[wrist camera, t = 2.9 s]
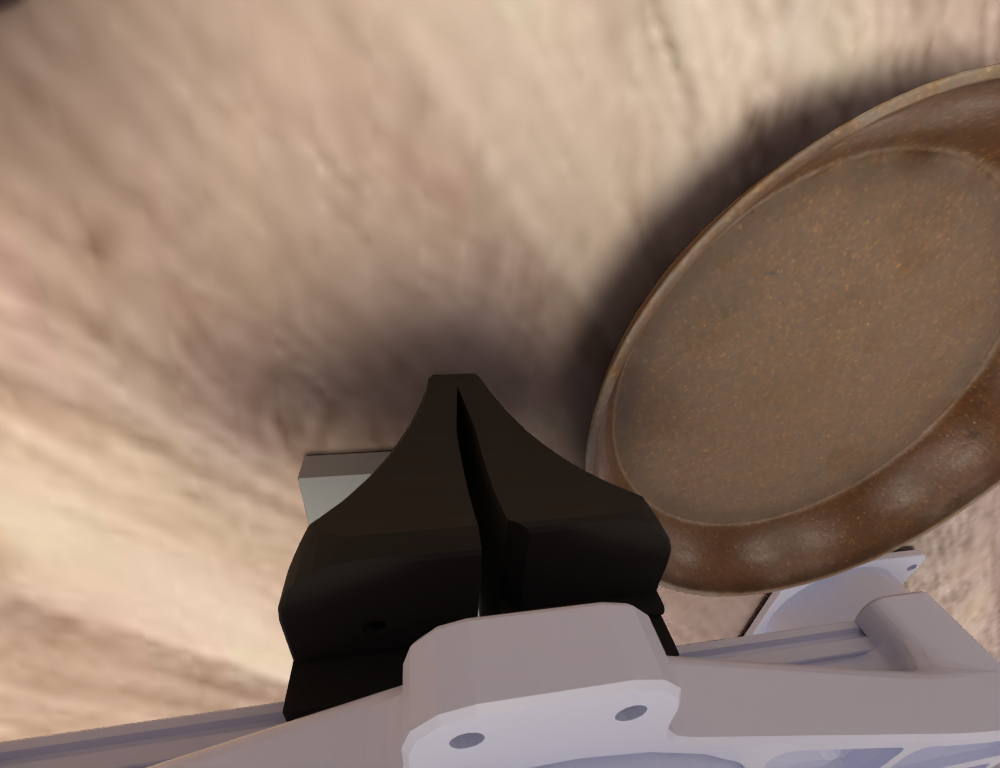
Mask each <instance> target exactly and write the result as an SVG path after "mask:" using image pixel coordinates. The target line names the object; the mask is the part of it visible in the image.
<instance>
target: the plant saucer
mask: <svg viewBox="0 0 1000 768" xmlns="http://www.w3.org/2000/svg"><path fill="white" fill-rule="evenodd" d="M585 471H586V472H588V473H590V474H592V475H594V476H596V477H598V478H600V479H602V480H604V481H607V482H609V483H611V484H614V485H616V486H618V487H621V488H623V489H626V490H628V491H631V492H633V493H636V494H638V495H640V496H643V497H644V499H645V500H646V502H647V503H648V505H649V506H650V507H651V509H652V510H653V512H654V513H655V515H656V516H657V518H658V520H659V521H660V523H661V525H662V527H663V528H664V530H665V532H666V533H667V535H668V537H669V539H670V544H671V554H670V558H669V561H668V564H667V566H666V569H665V571H664V573H663V576H662V578H661V580H660V583H659V586H663V587H665V588H667V589H671V590H674V591H677V592H683V593H688V594H694V595H701V596H745V595H753V594H762V593H769V592H775V591H781V590H785V589H789V588H793V587H797V586H801V585H805V584H809V583H812V582H816V581H819V580H823V579H826V578H829V577H832V576H835V575H838V574H841V573H843V572H846V571H848V570H851V569H853V568H856V567H858V566H861V565H864V564H866V563H869V562H871V561H874V560H876V559H878V558H880V557H881V556H883V555H885V554H888V553H890V552H892V551H895V550H897V549H899V548H900V547H902V546H904V545H906V544H908V543H910V542H912V541H914V540H916V539H917V538H919V537H921V536H922V535H924V534H926V533H928V532H929V531H931V530H933V529H934V528H936V527H938V526H939V525H941V524H942V523H944V522H946V521H947V520H949V519H950V518H952V517H953V516H955V515H956V514H958V513H959V512H961V511H962V510H964V509H965V508H967V507H968V506H970V505H971V504H973V503H974V502H976V501H977V500H979V499H980V498H981V497H983V496H984V495H986V494H987V493H988V492H990V491H991V490H992V489H994V488H995V487H996V486H998V485H999V484H1000V63H999V64H994V65H989V66H985V67H980V68H976V69H972V70H967V71H963V72H960V73H957V74H954V75H951V76H948V77H945V78H942V79H939V80H936V81H933V82H930V83H927V84H924V85H922V86H919V87H917V88H915V89H912V90H910V91H908V92H905V93H903V94H901V95H898V96H896V97H894V98H892V99H890V100H888V101H886V102H883V103H881V104H879V105H877V106H876V107H874V108H872V109H870V110H868V111H866V112H864V113H862V114H861V115H859V116H857V117H855V118H853V119H852V120H850V121H848V122H846V123H845V124H843V125H841V126H839V127H838V128H836V129H835V130H833V131H831V132H830V133H828V134H827V135H825V136H823V137H822V138H820V139H819V140H817V141H815V142H814V143H812V144H811V145H809V146H807V147H806V148H804V149H803V150H801V151H800V152H798V153H796V154H795V155H794V156H792V157H791V158H789V159H788V160H786V161H785V162H784V163H782V164H781V165H779V166H778V167H777V168H775V169H774V170H773V171H771V172H770V173H769V174H767V175H766V176H765V177H763V178H762V179H761V180H759V181H758V182H757V183H755V184H754V185H753V186H752V187H750V188H749V189H748V190H746V191H745V192H744V193H743V194H742V195H740V196H739V197H738V198H737V199H736V200H734V201H733V202H732V203H731V204H730V205H729V206H728V207H727V208H726V209H724V210H723V211H722V212H721V213H720V214H719V215H718V216H717V217H716V218H715V219H714V220H712V221H711V222H710V223H709V224H708V225H707V226H706V227H705V228H704V229H703V230H702V231H701V232H700V233H699V234H698V235H697V236H696V237H695V238H694V239H693V240H692V242H691V243H690V244H689V245H688V246H687V247H686V248H685V249H684V250H683V251H682V252H681V253H680V254H679V255H678V257H677V258H676V259H675V260H674V261H673V263H672V264H671V265H670V266H669V267H668V269H667V270H666V271H665V272H664V274H663V275H662V276H661V277H660V279H659V280H658V281H657V283H656V284H655V286H654V287H653V288H652V290H651V291H650V293H649V294H648V296H647V297H646V299H645V300H644V301H643V303H642V304H641V306H640V307H639V309H638V310H637V312H636V314H635V315H634V317H633V319H632V320H631V322H630V324H629V326H628V327H627V329H626V331H625V333H624V335H623V337H622V338H621V340H620V342H619V344H618V346H617V348H616V351H615V353H614V355H613V357H612V360H611V362H610V364H609V366H608V369H607V371H606V374H605V377H604V379H603V382H602V385H601V388H600V391H599V394H598V397H597V400H596V404H595V407H594V410H593V415H592V419H591V424H590V429H589V435H588V441H587V448H586V459H585Z"/></svg>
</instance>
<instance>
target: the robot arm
mask: <svg viewBox="0 0 1000 768" xmlns="http://www.w3.org/2000/svg"><path fill="white" fill-rule="evenodd" d="M670 554H671V544H670V539H669V537H668V535H667V533H666V532H665V530H664V528H663V527H662V525H661V523H660V521H659V520H658V518H657V516H656V515H655V513H654V512H653V510H652V509H651V507H650V506H649V505H648V503H647V502H646V500H645V499H644V497H643V496H640V495H638V494H636V493H633V492H631V491H628V490H626V489H623V488H621V487H618V486H616V485H614V484H611V483H609V482H607V481H604V480H602V479H600V478H598V477H596V476H594V475H592V474H590V473H588V472H586V471H585V470H583V469H581V468H579V467H577V466H576V465H574V464H572V463H571V462H569V461H567V460H566V459H564V458H563V457H561V456H559V455H558V454H556V453H555V452H553V451H552V450H550V449H549V448H548V447H546V446H545V445H544V444H542V443H541V442H540V441H538V440H537V439H536V438H535V437H533V436H532V435H531V434H530V433H528V432H527V431H526V430H525V429H524V428H523V427H522V426H521V425H520V424H519V423H518V422H517V421H516V420H515V419H514V418H513V417H512V416H511V415H510V414H509V413H508V412H507V411H506V410H505V409H504V407H503V406H502V405H501V404H500V403H499V402H498V401H497V400H496V398H495V397H494V396H493V395H492V393H491V392H490V391H489V390H488V388H487V387H486V386H485V384H484V383H483V382H482V380H481V379H480V377H479V376H478V375H477V374H446V375H432V376H431V377H430V378H429V379H428V386H427V389H426V392H425V395H424V397H423V400H422V402H421V404H420V406H419V408H418V410H417V413H416V415H415V416H414V418H413V420H412V422H411V423H410V425H409V427H408V428H407V430H406V432H405V433H404V435H403V436H402V438H401V439H400V441H399V442H398V444H397V445H396V446H395V448H394V449H393V450H392V451H391V453H390V454H389V455H388V457H387V458H386V459H385V460H384V461H383V462H382V463H381V465H380V466H379V467H378V468H377V469H376V470H375V471H374V472H373V473H372V474H371V475H370V476H369V477H368V478H367V479H366V480H365V481H364V482H363V483H362V484H361V485H360V486H359V487H358V488H356V489H355V490H354V491H353V492H352V493H351V494H350V495H349V496H348V497H347V498H345V499H344V500H343V501H342V502H341V503H339V504H338V505H336V506H335V507H334V508H332V509H331V510H329V511H328V512H327V513H325V514H324V515H322V516H321V517H320V518H318V519H317V520H315V521H314V522H312V523H311V524H310V525H309V526H308V528H307V530H306V532H305V534H304V536H303V538H302V540H301V542H300V544H299V546H298V548H297V551H296V553H295V555H294V558H293V560H292V562H291V565H290V567H289V570H288V573H287V576H286V580H285V584H284V587H283V591H282V595H281V599H280V603H279V606H278V612H279V621H280V624H281V627H282V629H283V632H284V635H285V638H286V641H287V643H288V646H289V649H290V652H291V655H292V657H293V660H294V661H293V666H292V670H291V675H290V680H289V684H288V689H287V693H286V698H285V702H278V703H271V704H264V705H257V706H250V707H243V708H236V709H229V710H222V711H215V712H208V713H201V714H194V715H187V716H180V717H173V718H166V719H159V720H152V721H144V722H137V723H130V724H123V725H116V726H109V727H102V728H95V729H88V730H81V731H74V732H67V733H60V734H53V735H46V736H39V737H32V738H25V739H18V740H11V741H4V742H0V768H1000V663H999V662H998V661H997V660H996V659H995V658H994V657H993V656H992V655H991V654H990V653H989V652H988V651H987V650H986V649H985V648H983V647H982V646H981V645H980V644H979V643H978V642H977V641H976V640H975V639H974V638H973V637H972V636H971V635H970V634H969V633H968V632H967V631H966V630H965V629H964V628H963V627H962V626H961V625H960V624H959V623H958V622H956V621H955V620H954V619H953V618H952V617H951V616H950V615H949V614H948V613H947V612H946V611H945V610H944V609H943V608H942V607H941V606H940V605H939V604H938V603H937V602H936V601H935V600H934V599H933V598H932V597H931V596H929V595H928V594H927V593H926V592H921V591H919V592H911V593H910V592H909V591H908V590H907V589H906V588H905V587H904V586H903V584H904V583H905V581H906V580H907V579H908V578H909V577H910V576H911V575H912V574H913V573H914V571H915V570H916V569H917V568H918V567H919V566H920V565H921V564H922V563H923V561H924V560H925V555H924V554H923V553H922V552H920V551H919V550H908V551H899V552H891V553H888V554H885V555H883V556H881V557H880V558H878V559H876V560H874V561H871V562H869V563H866V564H864V565H861V566H858V567H856V568H853V569H851V570H848V571H846V572H843V573H841V574H838V575H835V576H832V577H829V578H826V579H823V580H819V581H816V582H812V583H809V584H805V585H801V586H797V587H793V588H789V589H785V590H781V591H775V592H772V594H771V595H770V597H769V598H768V600H767V601H766V603H765V604H764V606H763V607H762V609H761V610H760V612H759V614H758V615H757V617H756V618H755V620H754V621H753V623H752V624H751V626H750V627H749V629H748V630H747V632H746V633H745V635H744V636H742V637H735V638H728V639H721V640H714V641H707V642H700V643H693V644H686V645H679V646H675V644H674V641H673V639H672V637H671V635H670V633H669V631H668V629H667V627H666V625H665V623H664V621H663V618H662V616H661V615H662V614H663V613H664V611H665V610H664V605H663V603H662V601H661V599H660V597H659V595H658V593H657V591H656V590H657V588H658V585H659V583H660V580H661V578H662V576H663V573H664V571H665V569H666V566H667V564H668V561H669V558H670ZM478 608H479V617H478Z"/></svg>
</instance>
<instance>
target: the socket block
mask: <svg viewBox="0 0 1000 768" xmlns="http://www.w3.org/2000/svg"><path fill="white" fill-rule="evenodd" d="M390 453H391V451H388V452H370V453H351V454H333V455H315V456H305V457H304V460H303V464H302V467H301V470H300V473H299V476H298V481H299V485H300V489H301V493H302V498H303V502H304V506H305V510H306V514H307V518H308V522H309V525H310V524H311V523H312V522H314V521H315V520H317V519H318V518H320V517H321V516H322V515H324V514H325V513H327V512H328V511H329V510H331V509H332V508H334V507H335V506H336V505H338V504H339V503H341V502H342V501H343V500H344V499H345V498H347V497H348V496H349V495H350V494H351V493H352V492H353V491H354V490H355V489H356V488H358V487H359V486H360V485H361V484H362V483H363V482H364V481H365V480H366V479H367V478H368V477H369V476H370V475H371V474H372V473H373V472H374V471H375V470H376V469H377V468H378V467H379V466H380V465H381V463H382V462H383V461H384V460H385V459H386V458H387V457H388V455H389V454H390ZM478 617H479V608H478Z"/></svg>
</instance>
